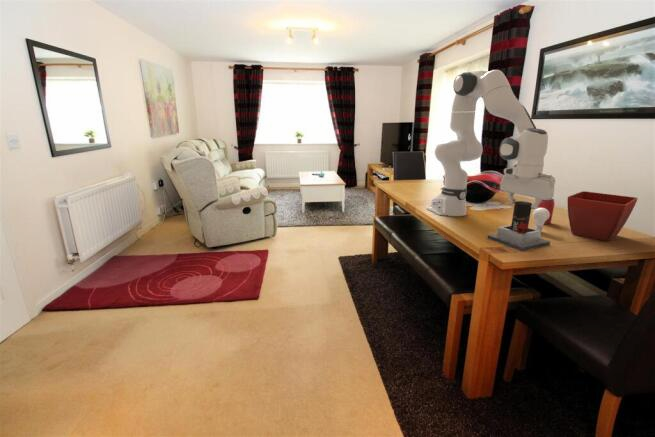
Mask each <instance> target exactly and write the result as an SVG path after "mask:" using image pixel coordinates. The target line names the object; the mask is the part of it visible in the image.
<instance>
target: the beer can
mask: <svg viewBox="0 0 655 437" xmlns="http://www.w3.org/2000/svg"><path fill="white" fill-rule="evenodd" d="M537 208H545V209H547V210H548V211H549V213H550V216H549V218H548V220H547V221H545V223H544V225H549V224H551V223H552V218H553V215H554V214H553V213H554V209H555V199H554V198H552V199H550V200H542V201H541V202H540V203H539V205H538V207H537Z"/></svg>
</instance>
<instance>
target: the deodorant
mask: <svg viewBox="0 0 655 437" xmlns="http://www.w3.org/2000/svg"><path fill="white" fill-rule="evenodd" d="M531 204H533V203H532V202H529V201H524V200H520V201H519V200H518V201H517V200H516V201H515V203H514V207H513V213H512V220H511V224H510V225H511V230H513V231H516V232H519V233H527V230H528V227H529V224H530V223H529V222H530V219H531V214H532V213H531V211H532V209H531Z"/></svg>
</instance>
